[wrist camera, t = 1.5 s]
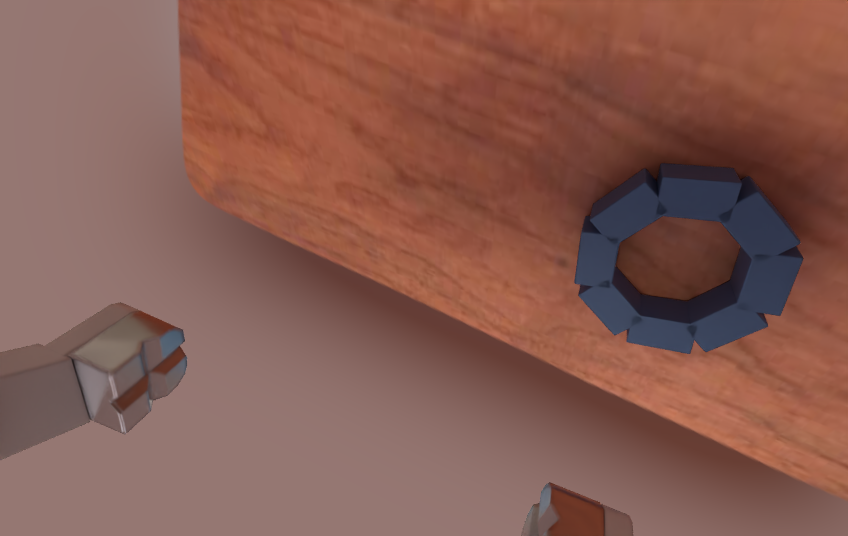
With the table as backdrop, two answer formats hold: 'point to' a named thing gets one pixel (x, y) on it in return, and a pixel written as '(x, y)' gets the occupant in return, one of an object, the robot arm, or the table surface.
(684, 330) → the ring
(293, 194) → the table surface
